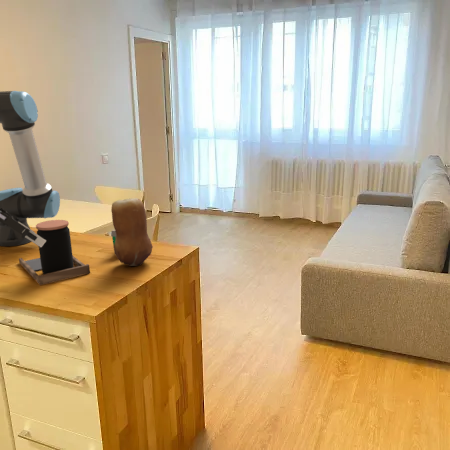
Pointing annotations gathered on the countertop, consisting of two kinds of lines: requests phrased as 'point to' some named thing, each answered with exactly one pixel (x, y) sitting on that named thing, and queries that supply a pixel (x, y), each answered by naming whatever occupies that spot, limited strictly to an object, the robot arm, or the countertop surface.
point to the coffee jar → (55, 246)
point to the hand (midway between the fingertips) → (37, 239)
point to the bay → (57, 272)
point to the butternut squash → (131, 231)
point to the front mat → (35, 264)
